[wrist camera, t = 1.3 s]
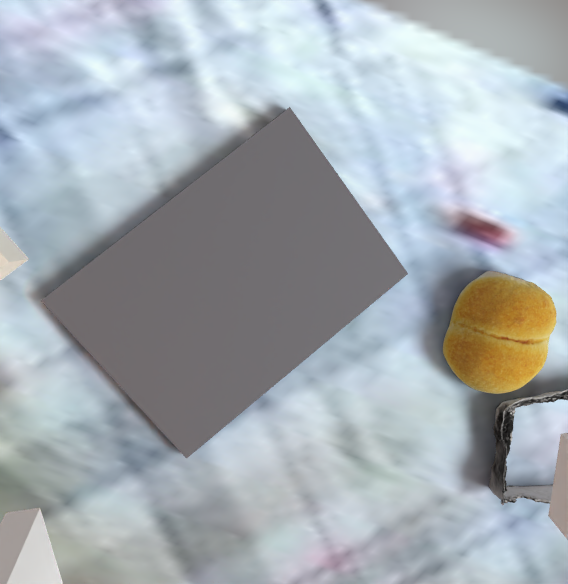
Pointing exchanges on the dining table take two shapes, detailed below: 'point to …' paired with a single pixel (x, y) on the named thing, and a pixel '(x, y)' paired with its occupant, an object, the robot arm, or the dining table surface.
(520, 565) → the dining table surface
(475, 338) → the bread roll
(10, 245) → the block
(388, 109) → the dining table surface
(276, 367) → the charcoal mat
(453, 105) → the dining table surface
